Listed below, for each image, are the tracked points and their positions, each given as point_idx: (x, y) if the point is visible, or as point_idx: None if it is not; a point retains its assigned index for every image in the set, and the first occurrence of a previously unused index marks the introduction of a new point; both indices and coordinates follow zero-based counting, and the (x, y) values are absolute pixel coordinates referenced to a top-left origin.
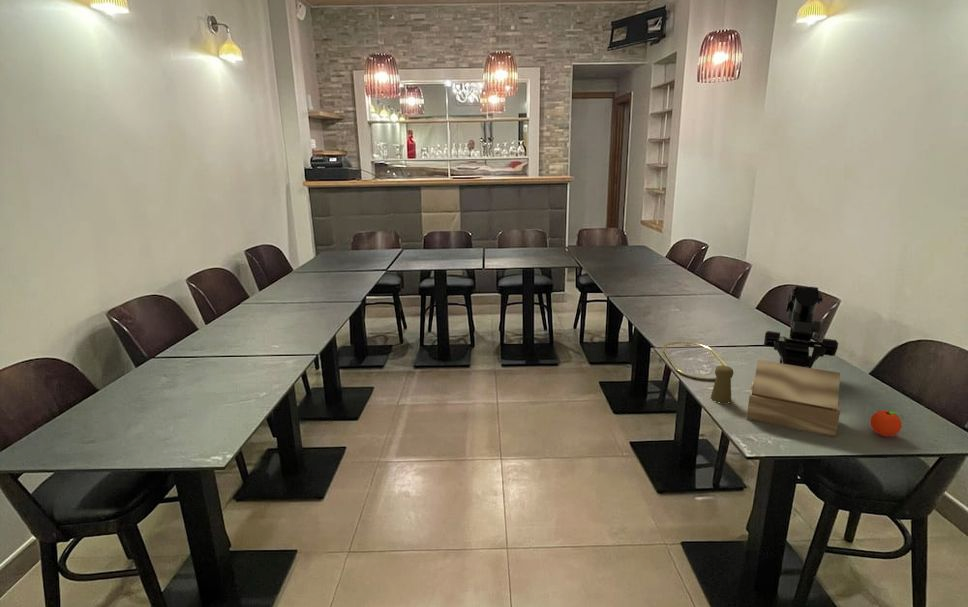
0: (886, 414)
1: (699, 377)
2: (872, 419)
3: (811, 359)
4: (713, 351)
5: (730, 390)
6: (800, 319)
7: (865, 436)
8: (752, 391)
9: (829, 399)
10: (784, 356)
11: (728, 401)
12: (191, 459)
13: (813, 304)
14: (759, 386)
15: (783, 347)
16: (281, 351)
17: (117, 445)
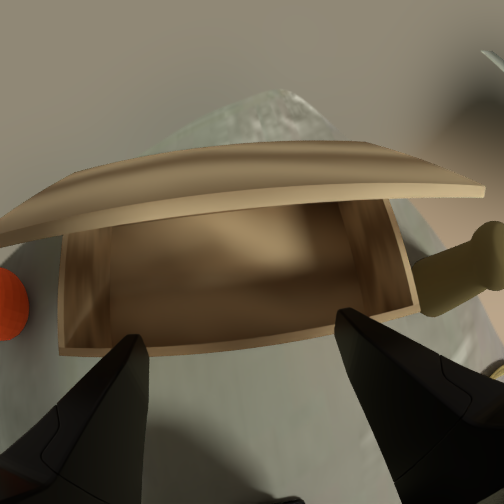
0: None
1: (497, 369)
2: (13, 290)
3: (85, 405)
4: None
5: (436, 274)
6: None
7: (49, 276)
8: (384, 251)
9: (84, 174)
10: (408, 354)
11: (413, 272)
12: (484, 52)
13: None
14: (363, 145)
15: (502, 409)
16: None
17: (499, 60)
